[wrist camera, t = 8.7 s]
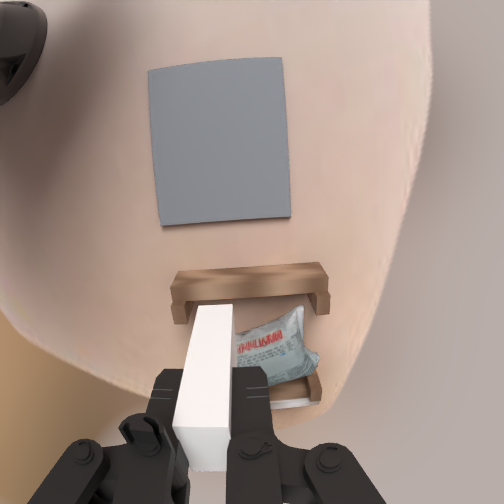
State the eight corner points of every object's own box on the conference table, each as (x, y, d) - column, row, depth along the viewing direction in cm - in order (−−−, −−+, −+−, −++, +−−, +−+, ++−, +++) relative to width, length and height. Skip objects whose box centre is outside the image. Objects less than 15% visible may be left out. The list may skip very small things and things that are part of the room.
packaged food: (201, 330, 33) (197, 356, 29) (300, 296, 33) (310, 319, 28) (230, 380, 36) (230, 407, 31) (318, 351, 35) (328, 377, 31)
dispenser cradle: (201, 389, 37) (197, 416, 32) (178, 271, 31) (167, 292, 27) (312, 382, 37) (319, 408, 32) (318, 262, 31) (331, 281, 27)
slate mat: (162, 224, 30) (160, 225, 29) (150, 72, 24) (148, 70, 24) (289, 215, 30) (290, 216, 29) (280, 59, 24) (281, 57, 24)
